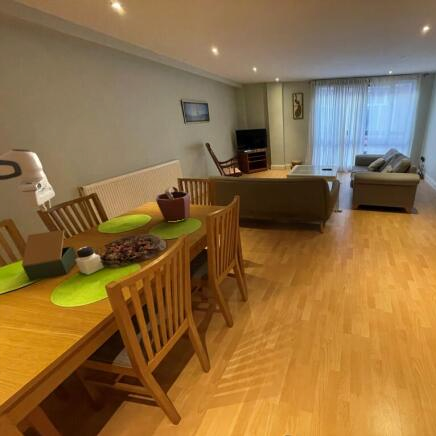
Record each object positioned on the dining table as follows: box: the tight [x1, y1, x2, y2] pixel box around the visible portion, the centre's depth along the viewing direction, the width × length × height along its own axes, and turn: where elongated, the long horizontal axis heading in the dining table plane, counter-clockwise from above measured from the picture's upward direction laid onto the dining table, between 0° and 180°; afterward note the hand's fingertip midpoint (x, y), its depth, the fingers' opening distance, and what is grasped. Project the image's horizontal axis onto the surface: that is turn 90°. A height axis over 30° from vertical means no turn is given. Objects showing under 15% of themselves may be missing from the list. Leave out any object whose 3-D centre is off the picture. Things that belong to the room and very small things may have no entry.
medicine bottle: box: [75, 246, 105, 275], centre depth 117 cm, size 7×7×12 cm
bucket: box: [155, 185, 191, 224], centre depth 177 cm, size 24×22×25 cm
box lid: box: [21, 229, 65, 267], centre depth 114 cm, size 17×14×1 cm
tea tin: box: [22, 245, 79, 282], centre depth 119 cm, size 16×14×8 cm
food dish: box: [94, 233, 167, 268], centre depth 135 cm, size 35×33×8 cm
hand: (46, 209), depth 122 cm, fingers open, 3 cm apart
